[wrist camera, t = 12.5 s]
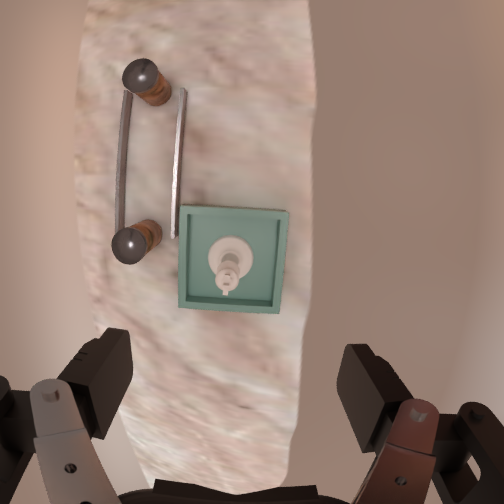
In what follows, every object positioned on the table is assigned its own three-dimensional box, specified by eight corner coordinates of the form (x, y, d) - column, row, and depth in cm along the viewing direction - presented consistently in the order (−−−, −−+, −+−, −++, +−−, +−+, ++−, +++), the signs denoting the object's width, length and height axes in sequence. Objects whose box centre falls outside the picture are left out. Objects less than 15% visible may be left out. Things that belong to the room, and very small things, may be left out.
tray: (184, 203, 33) (179, 205, 31) (285, 210, 34) (289, 212, 31) (182, 299, 36) (178, 307, 33) (276, 305, 36) (279, 313, 34)
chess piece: (205, 276, 35) (192, 312, 25) (210, 232, 33) (197, 253, 24) (250, 281, 35) (252, 320, 25) (256, 238, 34) (261, 261, 24)
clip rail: (131, 80, 30) (109, 62, 23) (189, 78, 30) (177, 56, 24) (121, 247, 34) (96, 261, 28) (177, 250, 34) (162, 267, 28)
